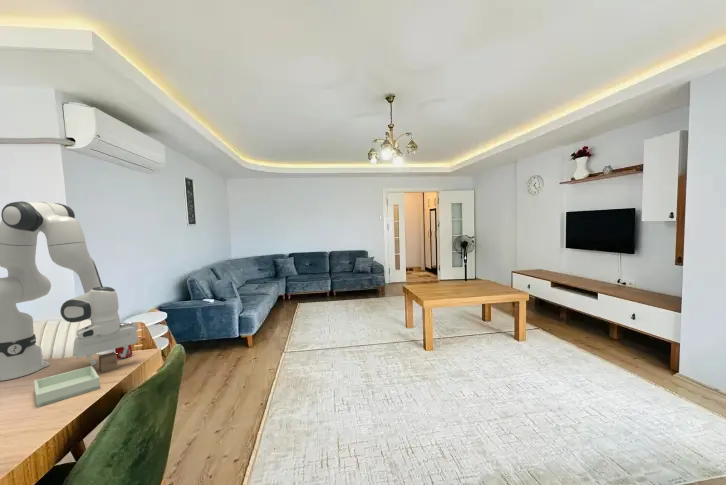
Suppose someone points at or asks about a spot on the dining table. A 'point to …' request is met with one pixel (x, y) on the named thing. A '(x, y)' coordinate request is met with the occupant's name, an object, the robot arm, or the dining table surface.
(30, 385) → the dining table surface
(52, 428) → the dining table surface
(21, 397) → the dining table surface
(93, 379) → the bin
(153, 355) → the dining table surface
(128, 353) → the beverage can
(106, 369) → the walnut block
